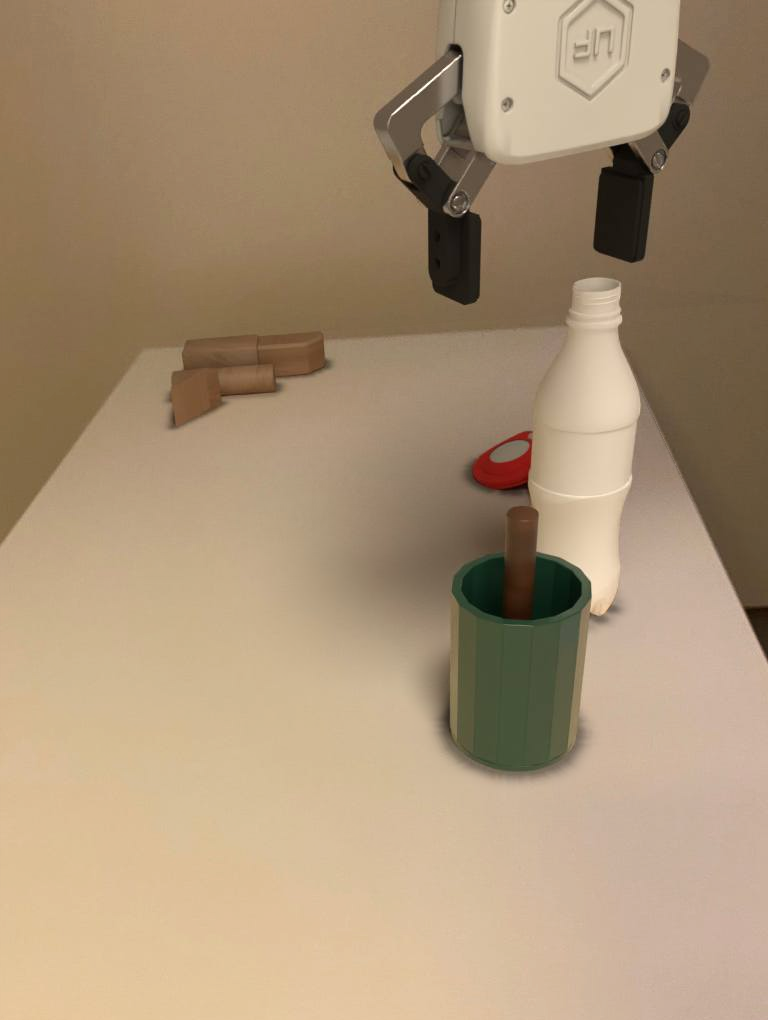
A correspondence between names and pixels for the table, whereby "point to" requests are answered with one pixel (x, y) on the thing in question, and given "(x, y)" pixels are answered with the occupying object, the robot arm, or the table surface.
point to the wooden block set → (239, 368)
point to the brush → (520, 562)
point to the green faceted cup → (517, 664)
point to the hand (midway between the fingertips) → (538, 276)
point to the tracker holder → (505, 463)
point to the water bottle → (586, 441)
